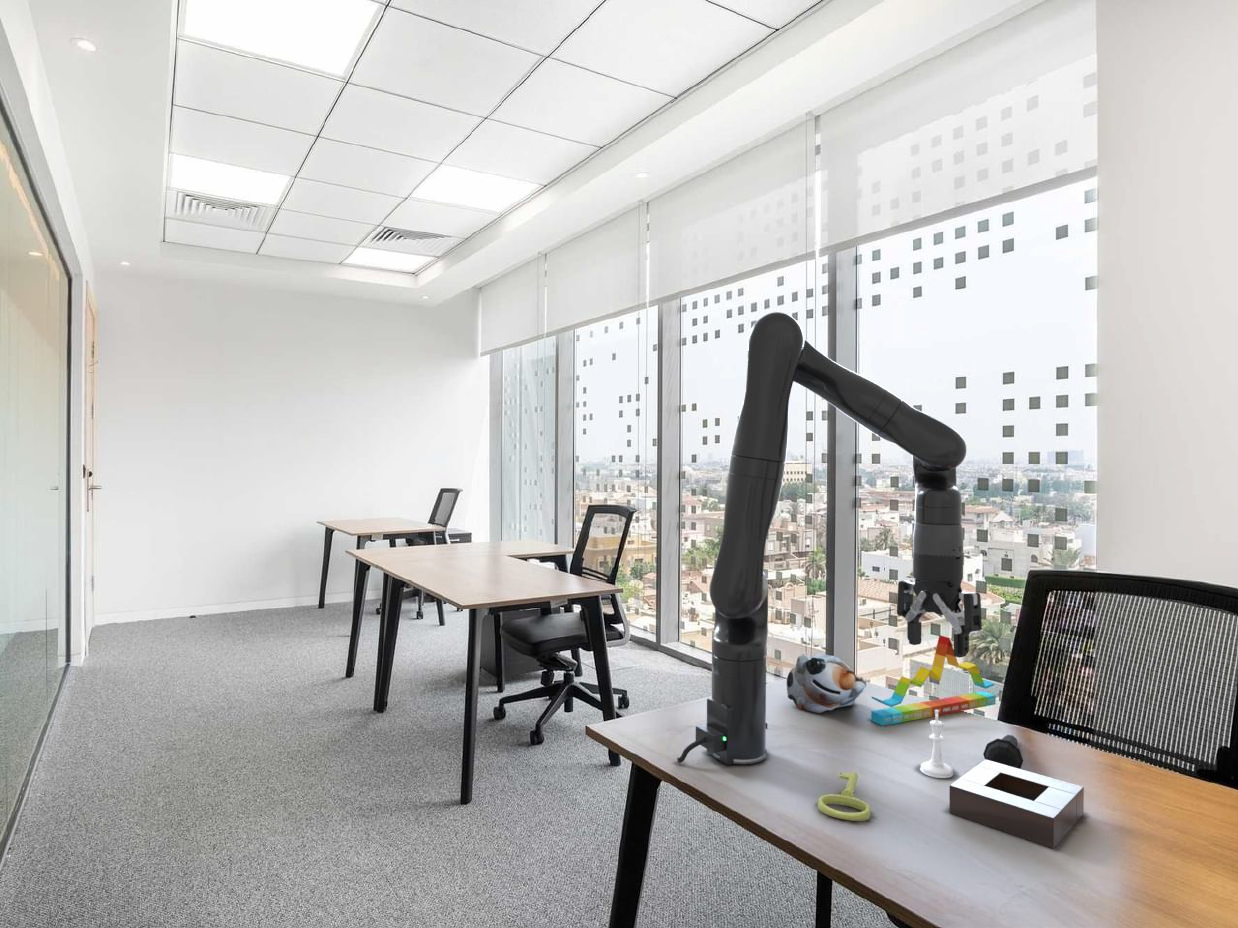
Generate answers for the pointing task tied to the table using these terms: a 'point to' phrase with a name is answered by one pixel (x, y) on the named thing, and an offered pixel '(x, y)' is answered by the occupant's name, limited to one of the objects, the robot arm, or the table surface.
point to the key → (845, 801)
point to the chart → (941, 705)
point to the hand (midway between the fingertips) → (937, 650)
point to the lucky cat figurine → (823, 683)
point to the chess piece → (936, 754)
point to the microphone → (1004, 752)
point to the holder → (1017, 802)
